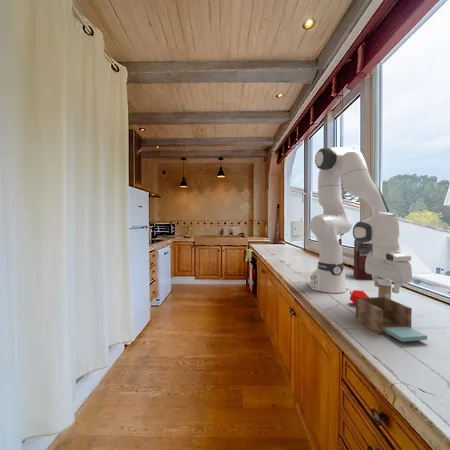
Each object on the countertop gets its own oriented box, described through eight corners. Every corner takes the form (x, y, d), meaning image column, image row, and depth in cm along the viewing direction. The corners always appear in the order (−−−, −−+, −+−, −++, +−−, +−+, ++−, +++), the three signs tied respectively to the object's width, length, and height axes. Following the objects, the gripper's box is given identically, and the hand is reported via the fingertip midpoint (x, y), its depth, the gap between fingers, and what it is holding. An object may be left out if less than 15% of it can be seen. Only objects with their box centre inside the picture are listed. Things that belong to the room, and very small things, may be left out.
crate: (355, 319, 96) (356, 298, 95) (384, 318, 97) (384, 296, 97) (379, 334, 84) (379, 310, 84) (411, 332, 85) (411, 308, 85)
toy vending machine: (356, 280, 154) (357, 232, 153) (353, 276, 165) (354, 231, 164) (373, 281, 151) (374, 233, 150) (369, 277, 162) (370, 232, 161)
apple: (372, 292, 112) (353, 283, 115) (371, 299, 107) (351, 290, 110) (365, 304, 115) (346, 296, 118) (364, 312, 109) (345, 303, 112)
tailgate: (384, 327, 84) (401, 337, 77) (407, 326, 85) (427, 335, 78) (384, 331, 84) (401, 341, 77) (407, 330, 85) (427, 339, 78)
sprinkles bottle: (374, 311, 104) (375, 278, 103) (385, 311, 104) (386, 277, 104) (382, 316, 99) (383, 281, 99) (394, 315, 100) (394, 280, 99)
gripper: (360, 251, 110) (361, 283, 111) (398, 257, 90) (399, 297, 90) (374, 250, 111) (374, 282, 111) (415, 256, 91) (415, 296, 91)
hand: (386, 289), depth 101 cm, fingers open, 8 cm apart
